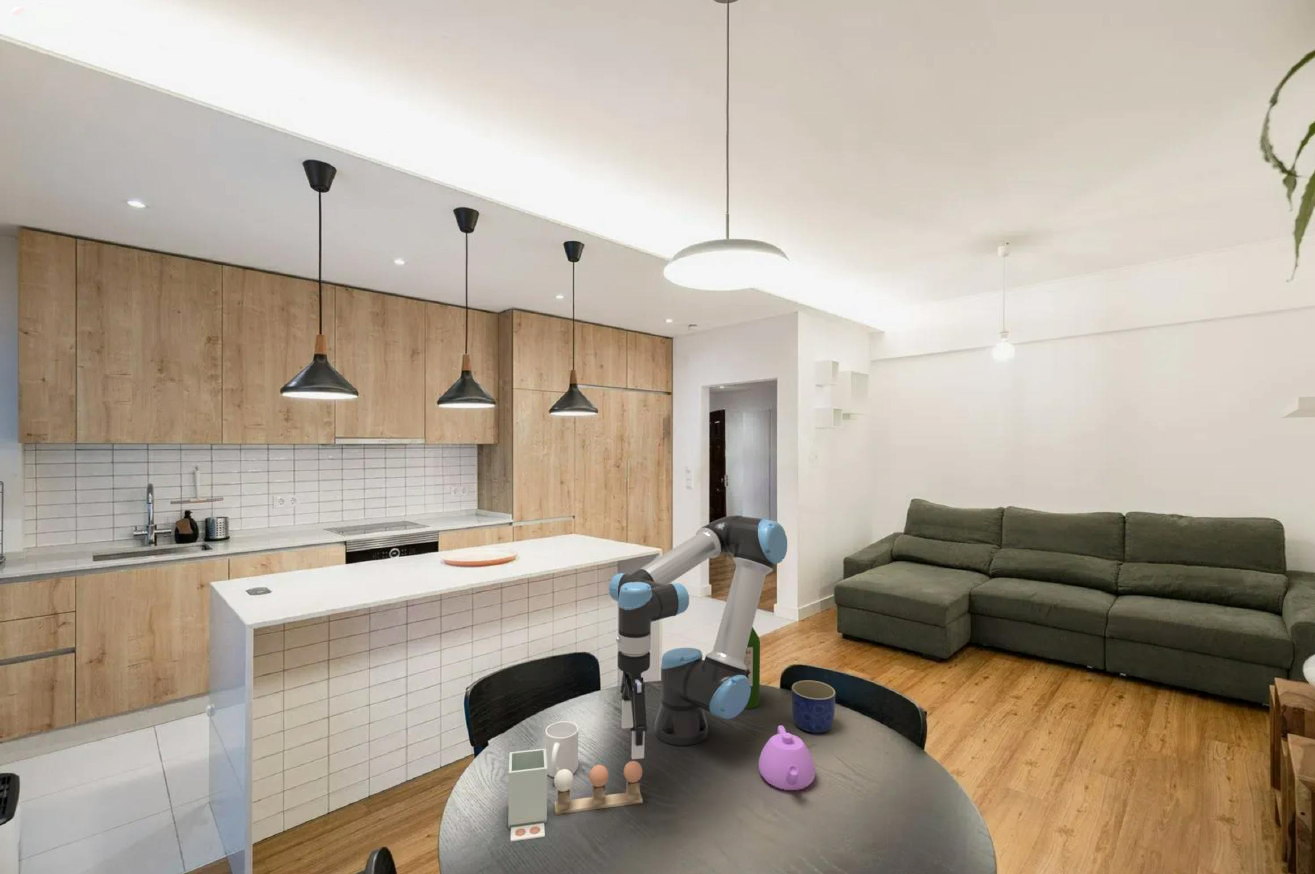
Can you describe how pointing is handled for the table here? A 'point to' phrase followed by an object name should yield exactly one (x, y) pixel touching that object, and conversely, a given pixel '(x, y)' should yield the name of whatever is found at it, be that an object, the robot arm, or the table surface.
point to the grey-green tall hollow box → (527, 788)
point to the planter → (813, 705)
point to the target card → (527, 832)
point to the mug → (561, 747)
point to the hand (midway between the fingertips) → (632, 742)
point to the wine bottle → (753, 669)
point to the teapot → (786, 762)
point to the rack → (598, 799)
